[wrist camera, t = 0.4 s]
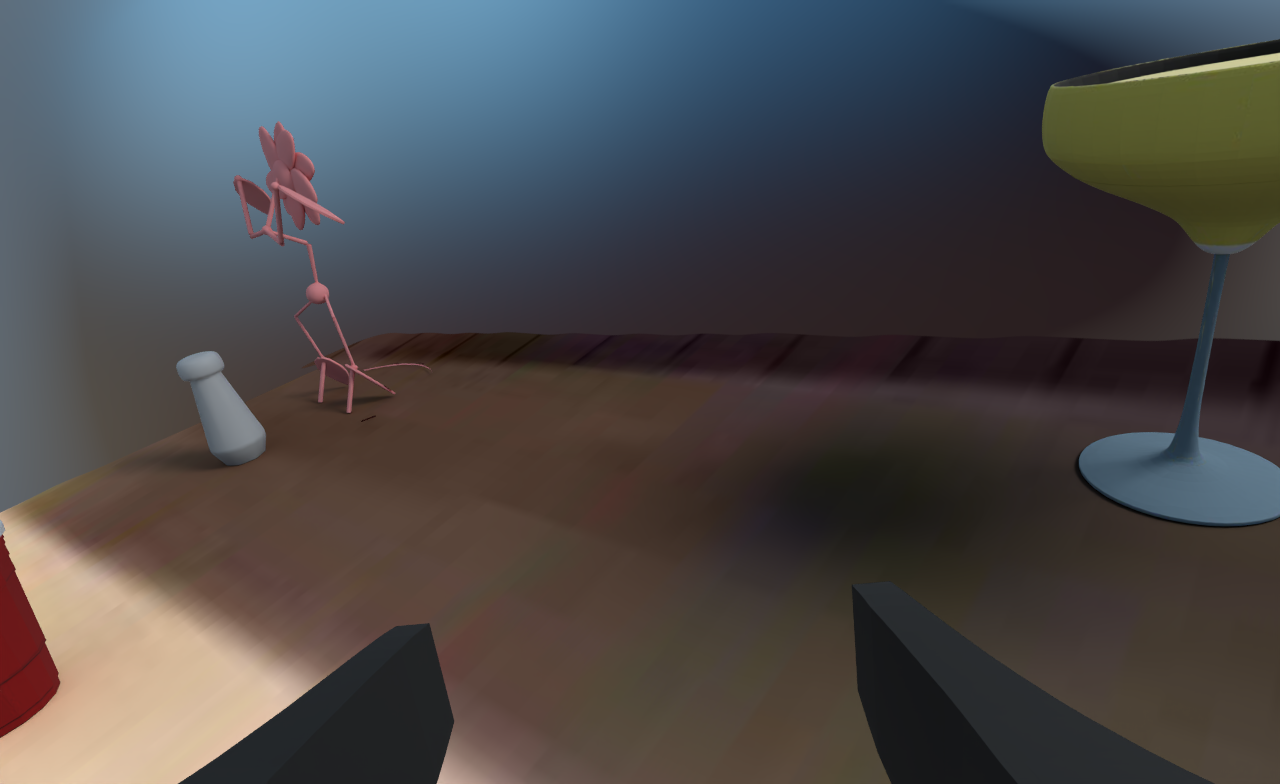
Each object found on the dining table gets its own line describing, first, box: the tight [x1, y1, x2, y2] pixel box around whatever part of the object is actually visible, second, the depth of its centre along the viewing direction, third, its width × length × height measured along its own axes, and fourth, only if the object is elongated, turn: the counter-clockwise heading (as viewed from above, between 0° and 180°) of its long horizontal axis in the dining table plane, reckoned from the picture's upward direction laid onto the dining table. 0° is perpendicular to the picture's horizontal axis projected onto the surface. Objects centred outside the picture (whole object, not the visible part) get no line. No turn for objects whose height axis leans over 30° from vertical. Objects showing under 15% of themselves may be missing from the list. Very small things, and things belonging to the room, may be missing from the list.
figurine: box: [234, 122, 432, 422], centre depth 81 cm, size 15×26×35 cm, turn 49°
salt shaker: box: [176, 351, 266, 466], centre depth 71 cm, size 6×6×13 cm
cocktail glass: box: [1042, 39, 1280, 526], centre depth 36 cm, size 18×18×25 cm
